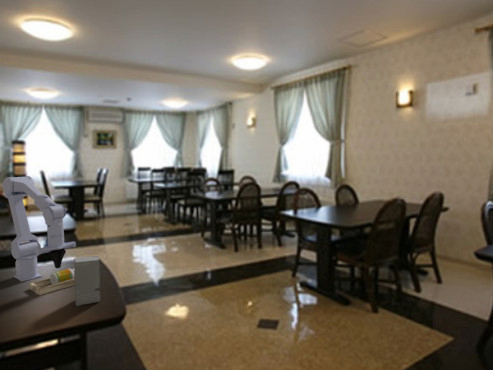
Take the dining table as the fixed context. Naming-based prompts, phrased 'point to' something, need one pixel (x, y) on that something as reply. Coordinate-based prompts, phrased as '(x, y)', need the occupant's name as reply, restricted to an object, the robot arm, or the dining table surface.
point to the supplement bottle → (62, 276)
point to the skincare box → (87, 280)
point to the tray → (40, 291)
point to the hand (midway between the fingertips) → (57, 267)
